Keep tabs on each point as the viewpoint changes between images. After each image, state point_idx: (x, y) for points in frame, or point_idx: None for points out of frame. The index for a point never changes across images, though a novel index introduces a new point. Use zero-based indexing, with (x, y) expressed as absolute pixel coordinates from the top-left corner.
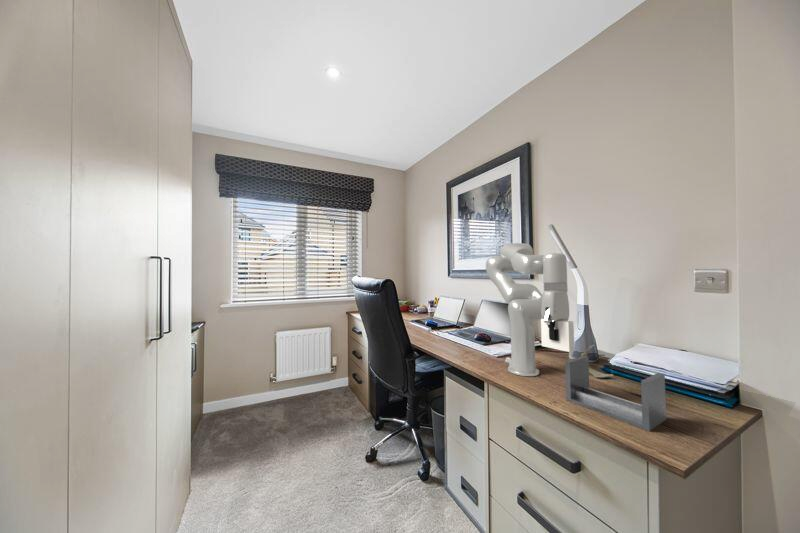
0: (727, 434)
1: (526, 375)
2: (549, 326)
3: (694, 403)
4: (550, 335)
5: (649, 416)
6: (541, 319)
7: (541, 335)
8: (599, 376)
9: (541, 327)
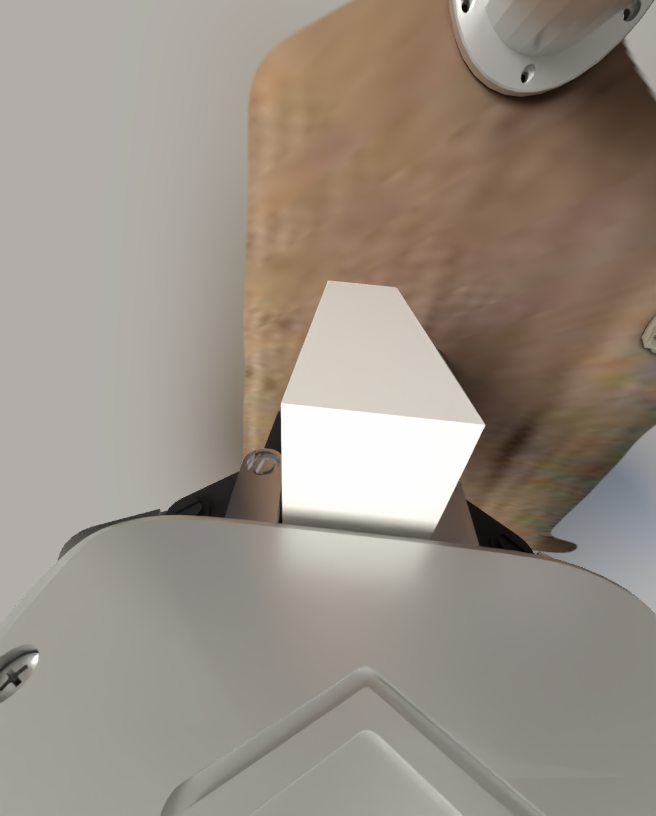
0: None
1: (462, 53)
2: (222, 490)
3: (536, 505)
4: (275, 421)
5: None
6: (284, 406)
7: (319, 303)
8: (646, 337)
9: (310, 335)
